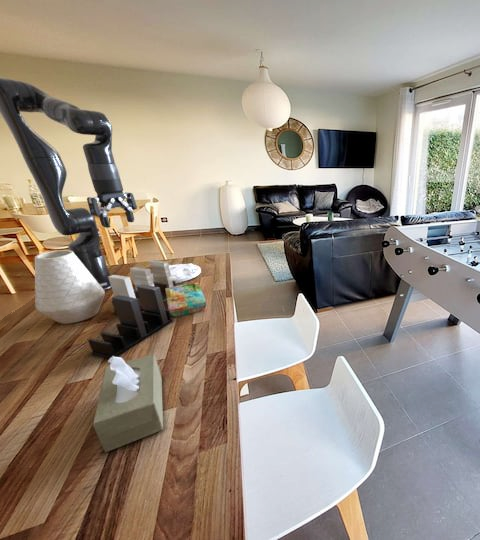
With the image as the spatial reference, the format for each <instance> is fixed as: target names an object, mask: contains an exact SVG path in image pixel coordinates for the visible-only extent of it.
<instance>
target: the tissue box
mask: <svg viewBox="0 0 480 540" xmlns="http://www.w3.org/2000/svg"><path fill="white" fill-rule="evenodd" d="M107 362H108V363H110V364H109V365H108V366H106V367H105V368H104V372H103V377H102V381H101V385H100V390H99V395H98V398H97V399H98V400H97V403H96V408H95V414H94V417H93V423H92V427H93V429H94V431H95V433H96V435H97V437H98V440H99V442H100V444H101V446H102V448H103V450H104V452H105V453H108V452H110V451H113V450H115V449H118V448H121V447H123V446H125V445H128V444H131V443H134V442H135V441H138V440H141V439H143V438H145V437H148V436H151V435H153V434H156V433H158V432H159V433H160V432H161V431H163V430H164V416H163V415H164V411H163V409H164V407H163V386H162V385H163V378H162V377H163V376H162V374H161V371H160V368H159V367H160V366H159V363H158V361H157V357H156V354H154V353H151V354H147V355H145V356H141V357H137V358H134V359H130V360H127V361H125V360H124V358H123V357H119V356H117V357H114V356H112V357H111V358H110V359H107Z"/></svg>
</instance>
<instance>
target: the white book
mask: <svg viewBox="0 0 480 540" xmlns="http://www.w3.org/2000/svg"><path fill="white" fill-rule="evenodd" d="M108 278H109V281H110V284H111V290H112V293H113V297H115V296H117V295H121V296H126V297H132V298H136V297H135V294H134V290H135V289H134V287H133V284H132V280H131V277H130V276H125V275H118V274H112V275H110V276H109V277H108Z"/></svg>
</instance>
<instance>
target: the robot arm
mask: <svg viewBox="0 0 480 540" xmlns="http://www.w3.org/2000/svg"><path fill="white" fill-rule="evenodd" d="M22 112H23V113H30V114H31V113H42V114H44V115H45V117H47V118H48V119H50V120H51V121H53V122H56V123H58V124H61V125H64V126H65V127H66V128H68V129H69V130H70V131H71V132H73V133H75V134H78V135H85V136H94V140H93V141H92V142H87V143H84V144H83V146H82V150H83V153H84V157H85V159H86V162H87V168H88V169H87V170H88V173H89V176H90V180H91V182H92V186H93V190H94V192H95V193H96V197H91V196H88V197H87V198H86V201H87V205H88V209H86V208H85V207H75V208H69V209H66V206H65V205H64V204H65V203H64V200H63V190H64V188H65V184H66V181H67V175H68V173H67V168H66V166H65V164H64V162H63V159H62V157H61V155H60V153H59V151H58V150H57V149H56V148H54V146H53V145H52V144H50V143H49V142H48V141H47V140H45V138H43V137H42V136H41V135H39V133H37V132H36V131H34V129H32V128H31V126H30V125H29V124H28V123H27V121H26V120H25V118H24V117H23V115H22V114H21V113H22ZM0 116H1V117H2V119H3V120H4V122H5V123H6V125H7V127H8V129H9V130H10V131H9V132H11V134H12V137H13V138H14V140H15V143H16V144H17V146H18V149H19V152H20V153H21V155H22V158H23V160H24V162H25V164H26V166H27V168H28V170H29V172H30V174H31V175H32V178H33V180H34V182H35V184H36V186H37V188H38V190H39V192H40V194H41V196H42V199H43V202H44V205H45V207H46V211H47V213H48V216H49V218H50V221H51V223H52V225H53V227H54V228H55V230H56V231H57V232H58V233H59V234H61V235H62V236H66V237H67V236H73V235H78V236H77V237H76V238H75V239H74V240H72V241H70V243H68V245H67V247H68V250H71V251H73V252H74V254H75V255H76V256H77V257H78V258H79V260H80V261H81V262H82V263H83V265H84V266H85V267H86V268H87V269H88V271H89V272H90V273H91V274H92V276H93V277H94V278H95V279H96V281H97V282H98V283H99V284H100V285H101V287H102V288H103V289H104V291H106V290H109V289H112V287H111V284H110V281H109V278H108V277H109V276H111V273H110V271H109V267H108V265H107V261H106V258H105V255H104V251H103V249H102V246H101V237H100V233H99V229H98V226H97V222H96V218H95V217H98V218H99V222H100V225H101V226H102V227H103V228H105V229H108V228H111V224H110V221H109V217H108V216H107V215H108V213H109V212H110V211H111V210H112V209H115V208H121V209H122V210H123V211H125V212H124V214H125V217H126V221H127V222H128V223H134V222H135V217H134V211H135V210H138V206H137V201H136V200H135V196H134V194H133V192H123V191H124V187H123V184H122V183H123V182H122V180H121V176H120V171H119V169H118V167H117V165H116V161H115V157H114V154H113V150H112V149H113V126H112V122H111V120H110V119H109V117H108V116H107V115H106V114H105V113H103V112H101V111H96V110H88V109H80V107H78V106H76V105H74V104H73V103H69V102H67V101H64V100H61V99H58V98H56V97H53V96H52V95H50V94H48V93H46V92H45V91H43V90H41V89H40V88H38V87H36V86H34V85H33V84H31V83H29V82H25V81H21V80H16V79H11V78H10V79H9V78H4V77H0ZM125 200H126V201H125Z"/></svg>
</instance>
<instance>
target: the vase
mask: <svg viewBox="0 0 480 540" xmlns="http://www.w3.org/2000/svg"><path fill="white" fill-rule="evenodd" d="M105 295H106V290H104V289H103V288H102V287H101V285H100V284H99V283H98V282H97V281H96V279H95V278H94V277H93V276H92V274H91V273H90V272H89V271H88V269H87V268H86V267H85V266H84V265H83V263H82V262H81V261H80V260H79V258H78V257H77V256H76V255H75V254H74V252H73V251H71V250H69V249H59V250H52V251H46V252H43V253H39V254H37V255H36V256H34V308H35V310H36V311H37V312H39V313H40V314H43V316H46V317H47V318H49V319H51V320H53V321H55V322H57V323H58V324H62V325H63V324H65V325H66V324H67V325H68V324H75V323H79V322H83V321H85V320H90V318H93V317H94V316H96V315H97V314H98V313H99V311H100V309H101V306H102V303H103V300H104V298H105Z"/></svg>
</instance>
